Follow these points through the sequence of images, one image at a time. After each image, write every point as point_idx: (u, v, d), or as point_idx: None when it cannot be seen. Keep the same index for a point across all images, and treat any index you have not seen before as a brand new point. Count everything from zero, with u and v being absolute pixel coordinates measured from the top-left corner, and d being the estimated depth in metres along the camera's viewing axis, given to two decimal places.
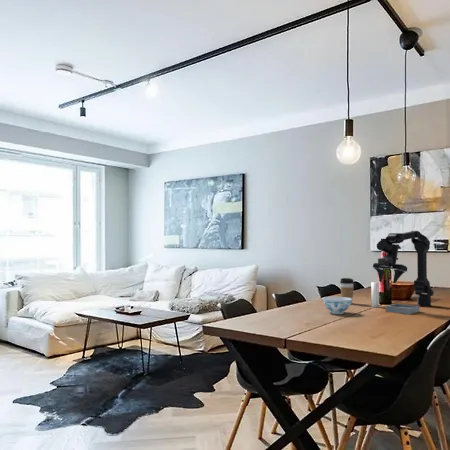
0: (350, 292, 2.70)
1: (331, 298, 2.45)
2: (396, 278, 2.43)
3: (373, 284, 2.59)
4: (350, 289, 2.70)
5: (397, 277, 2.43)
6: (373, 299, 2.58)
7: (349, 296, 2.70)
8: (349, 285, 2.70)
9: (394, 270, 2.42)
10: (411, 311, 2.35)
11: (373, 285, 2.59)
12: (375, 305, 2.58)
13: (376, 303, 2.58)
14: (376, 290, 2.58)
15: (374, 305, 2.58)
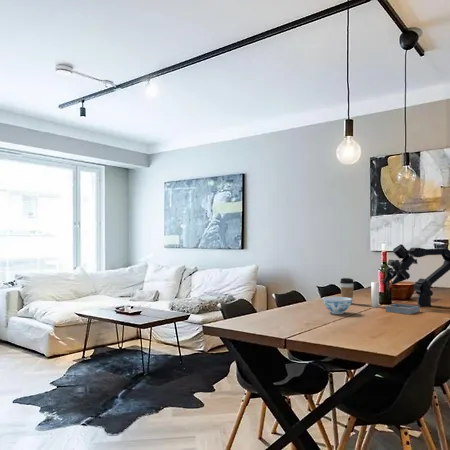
0: (350, 292, 2.70)
1: (331, 298, 2.45)
2: (395, 281, 2.56)
3: (373, 284, 2.59)
4: (350, 289, 2.70)
5: (397, 280, 2.56)
6: (373, 299, 2.58)
7: (349, 296, 2.70)
8: (349, 285, 2.70)
9: (396, 273, 2.57)
10: (411, 311, 2.35)
11: (373, 285, 2.59)
12: (375, 305, 2.58)
13: (376, 303, 2.58)
14: (376, 290, 2.58)
15: (374, 305, 2.58)
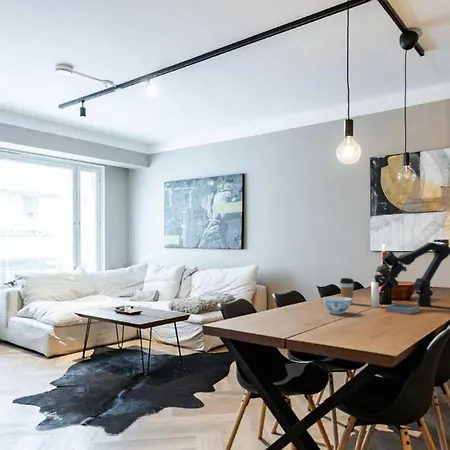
0: (350, 292, 2.70)
1: (331, 298, 2.45)
2: (384, 288, 2.55)
3: (373, 284, 2.59)
4: (350, 289, 2.70)
5: (385, 288, 2.55)
6: (373, 299, 2.58)
7: (349, 296, 2.70)
8: (349, 285, 2.70)
9: (385, 280, 2.55)
10: (411, 311, 2.35)
11: (373, 285, 2.59)
12: (375, 305, 2.58)
13: (376, 303, 2.58)
14: (376, 290, 2.58)
15: (374, 305, 2.58)
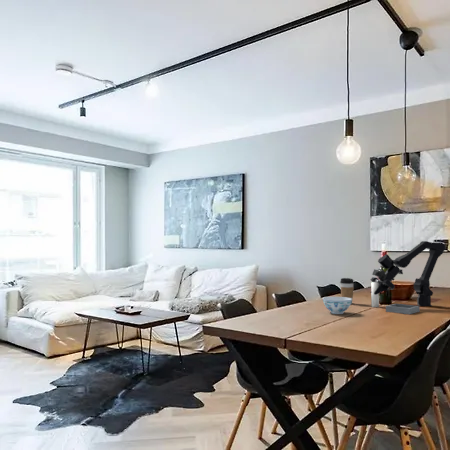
0: (350, 292, 2.70)
1: (331, 298, 2.45)
2: (378, 291, 2.57)
3: (373, 284, 2.59)
4: (350, 289, 2.70)
5: (379, 290, 2.57)
6: (373, 299, 2.58)
7: (349, 296, 2.70)
8: (349, 285, 2.70)
9: (379, 283, 2.57)
10: (411, 311, 2.35)
11: (373, 285, 2.59)
12: (375, 305, 2.58)
13: (376, 303, 2.58)
14: None
15: (374, 305, 2.58)
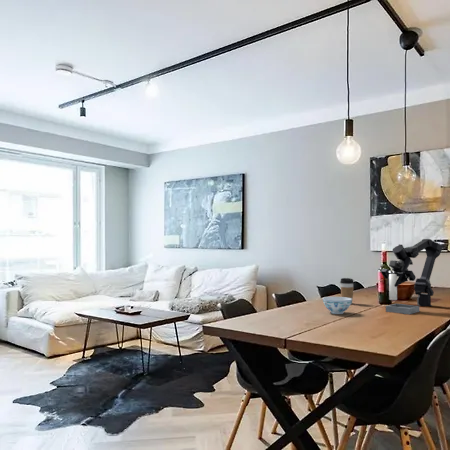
0: (350, 292, 2.70)
1: (331, 298, 2.45)
2: (398, 282, 2.45)
3: (393, 276, 2.45)
4: (350, 289, 2.70)
5: (399, 282, 2.45)
6: (393, 292, 2.45)
7: (349, 296, 2.70)
8: (349, 285, 2.70)
9: (399, 274, 2.46)
10: (411, 311, 2.35)
11: (393, 277, 2.45)
12: (395, 298, 2.45)
13: (396, 296, 2.45)
14: None
15: (394, 298, 2.45)
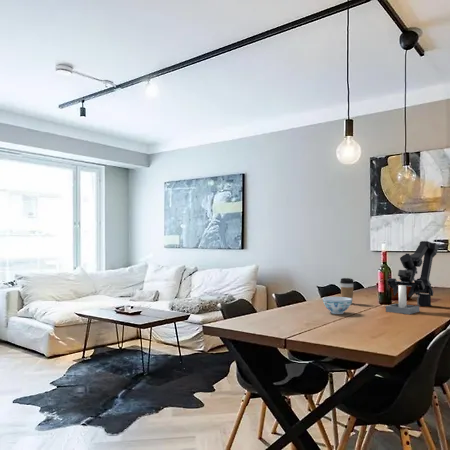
0: (350, 292, 2.70)
1: (331, 298, 2.45)
2: (411, 292, 2.40)
3: (403, 287, 2.41)
4: (350, 289, 2.70)
5: (412, 292, 2.40)
6: (403, 303, 2.41)
7: (349, 296, 2.70)
8: (349, 285, 2.70)
9: (412, 284, 2.41)
10: (411, 311, 2.35)
11: (403, 288, 2.41)
12: None
13: (406, 307, 2.41)
14: (405, 294, 2.41)
15: None
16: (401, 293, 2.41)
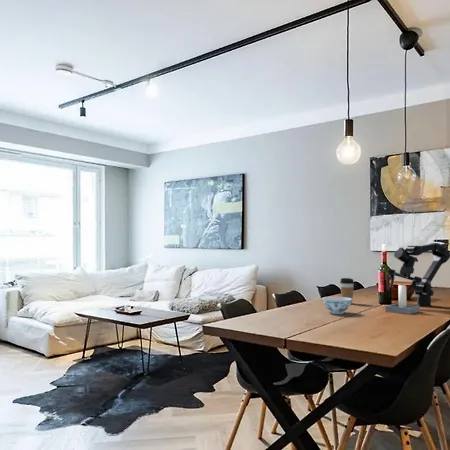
0: (350, 292, 2.70)
1: (331, 298, 2.45)
2: (411, 289, 2.53)
3: (403, 287, 2.41)
4: (350, 289, 2.70)
5: (412, 288, 2.54)
6: (403, 303, 2.41)
7: (349, 296, 2.70)
8: (349, 285, 2.70)
9: (413, 281, 2.52)
10: (411, 311, 2.35)
11: (403, 288, 2.41)
12: None
13: (406, 307, 2.41)
14: (405, 294, 2.41)
15: None
16: (401, 293, 2.41)
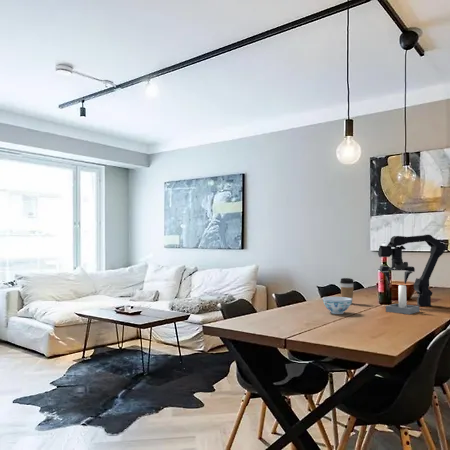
0: (350, 292, 2.70)
1: (331, 298, 2.45)
2: None
3: (403, 287, 2.41)
4: (350, 289, 2.70)
5: None
6: (403, 303, 2.41)
7: (349, 296, 2.70)
8: (349, 285, 2.70)
9: (407, 273, 2.61)
10: (411, 311, 2.35)
11: (403, 288, 2.41)
12: None
13: (406, 307, 2.41)
14: (405, 294, 2.41)
15: None
16: (401, 293, 2.41)
